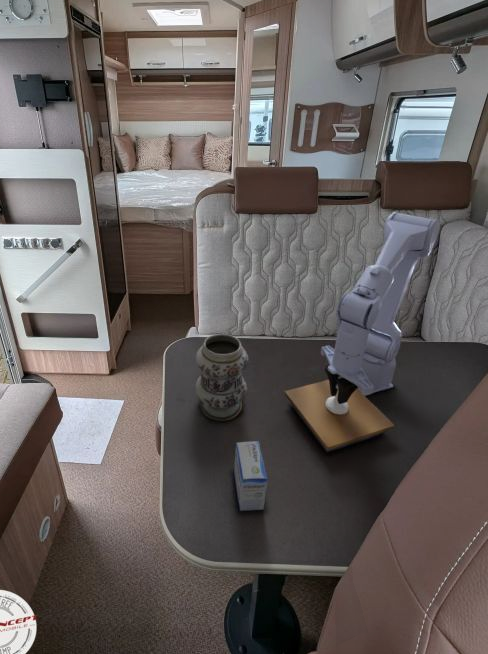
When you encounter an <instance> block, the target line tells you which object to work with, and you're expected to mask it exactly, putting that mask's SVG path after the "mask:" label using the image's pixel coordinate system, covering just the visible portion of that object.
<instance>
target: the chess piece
mask: <svg viewBox="0 0 488 654" xmlns="http://www.w3.org/2000/svg"><path fill="white" fill-rule="evenodd" d="M339 378H343V377H342V376H339V377H338V379H339ZM336 388H337V389H338V384H337V385H336ZM337 398H338V391H337V394H336V396H333V397H329V398H328V399H327V401H326V407H327V409H328V410H329V411H331V412H333V413H335V414H345V413H347V412H348V403H347V402H346V403H342V404H339V403H338V401H337Z"/></svg>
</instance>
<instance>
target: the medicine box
mask: <svg viewBox="0 0 488 654" xmlns="http://www.w3.org/2000/svg"><path fill="white" fill-rule="evenodd" d="M233 467H234V468H233V475H234V482H235V488H236V494H237V500H238V507H239V511H241V512H242V511H243V512H245V511H261V510H262V511H263V510H264V508H265V502H266V494H267V486H268V477H267V473H266V468H265V463H264V460H263V455H262V451H261V447H260V443H259V441H258V440H255V441H239V442H236V444H235V455H234V465H233Z"/></svg>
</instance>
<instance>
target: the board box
mask: <svg viewBox="0 0 488 654" xmlns="http://www.w3.org/2000/svg"><path fill="white" fill-rule="evenodd" d="M283 395H284V396H285V398H287V400H288V401H289V403H290V404H291V408H292V409H293V410H294V411H295V413H296V415H298V417H299V419H300V420H301V421H302V422H303V423H304V425H305V426H306V427H307V429H308V430H309V432H310V433H311V434H312V435H313V437H314V438H315V440H316V441H317V442H318V443H319V444H320V446H321V447H322V448H323V450H324V452H325V453H327V454H328V453H331V452H334V451H337V450H340V449H343V448H345V447H348V446H352V445H354V444H358V443H360V442H364V441H367V440H370V439H372V438H375V437H378V436H380V435H381V433H384V432H388V431H390V430H393V429H395V427H396V425H395V424H394V423H393V422H392V421H391V420H390V419H389V418H388V417H387V416H386V415H385V414H384V413H382V411H381V410H379V408H377V406H375V404H374V403H373V402H371V401H370V400H369V399H368V398H367V397H366V396H364V395H363V394H362V393H361V392H360V391H359V390H358V389H356V390H355V391H354V392H353V393H352V395H351V396H350V398H349V399H348V401H347V403H348V412H347V413H345V414H335V413H333V412H331V411H329V410H328V409H327V407H326V401H327V399H328V398H329V397H333V396H332V395H331V392H330V384H329V379H326V380H322V381H318V382H315V383H311V384H307V385H303V386H299V387H295V388H292V389H288V390H284V394H283Z"/></svg>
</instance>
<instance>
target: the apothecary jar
mask: <svg viewBox="0 0 488 654" xmlns="http://www.w3.org/2000/svg"><path fill="white" fill-rule="evenodd" d="M195 362H196V365H197V367H198V369H199V370H200V375H199V377H198V378H197V380H196V383H195V393H196V395H197V397H198V399H199V400H200V409H201V411H202V413H203V414H204V416H206V417H207V418H209V419H211V420H214V421H218V422H219V421H220V422H223V421H229V420H232V419H235V417H237V416H238V415H239V414H240V412H241V410H242V409H243V408H242V406H243V404H242V401H243V400H244V399H245V398H246V395H247V393H248V384H247V382H246V380H245V378H244V377H243V372H244V371H245V370H246V368H247V367H248V364H249V355H248V352H247V350H246V349H245V348H244V347H243V346H242V341H241V340H240V339H239V338H237V337H236V336H234V335H232V334H227V333H217V334H211V335H210V336H207V337H206V338H205V339H204V341H203V344H202V345H201V346H200V347H199V348H198V350H197V352H196V355H195Z"/></svg>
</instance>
